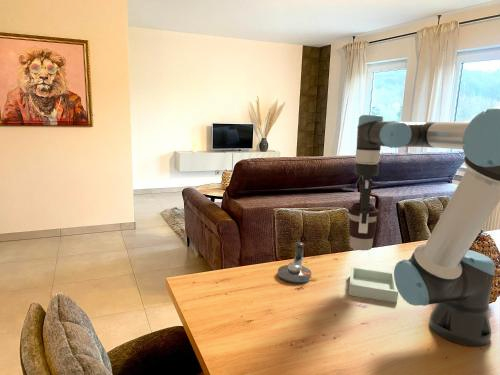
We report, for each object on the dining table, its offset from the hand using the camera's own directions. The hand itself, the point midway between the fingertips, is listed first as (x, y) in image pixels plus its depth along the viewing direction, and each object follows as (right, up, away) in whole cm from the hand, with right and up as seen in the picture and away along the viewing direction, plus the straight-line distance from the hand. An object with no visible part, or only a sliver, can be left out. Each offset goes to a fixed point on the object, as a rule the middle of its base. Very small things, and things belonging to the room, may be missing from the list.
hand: (362, 228), depth 127 cm
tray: (+4, -21, +2) cm, 21 cm away
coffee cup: (0, -7, +1) cm, 7 cm away
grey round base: (-22, -19, +9) cm, 30 cm away
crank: (-21, -16, +13) cm, 29 cm away
